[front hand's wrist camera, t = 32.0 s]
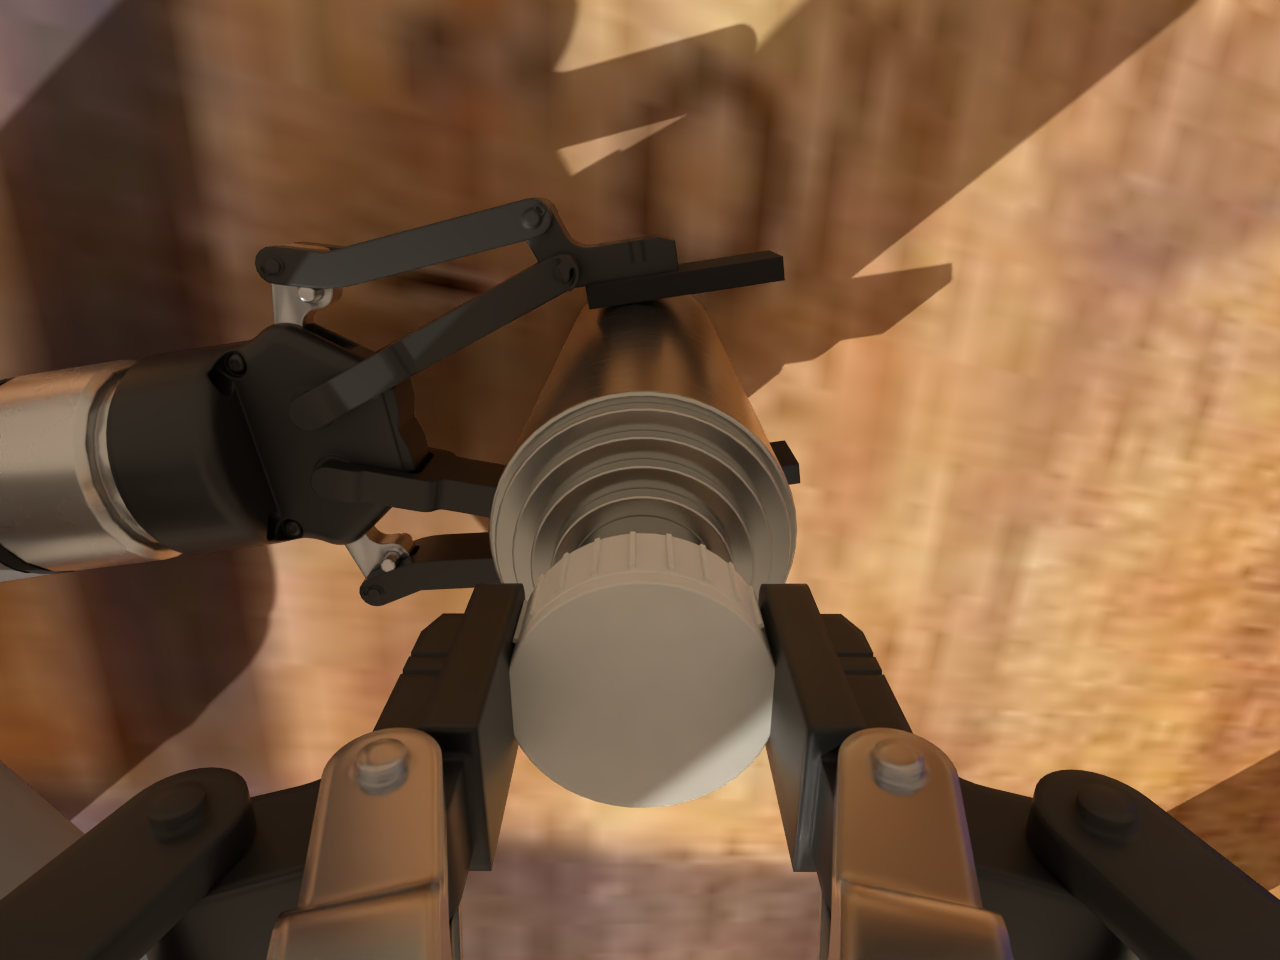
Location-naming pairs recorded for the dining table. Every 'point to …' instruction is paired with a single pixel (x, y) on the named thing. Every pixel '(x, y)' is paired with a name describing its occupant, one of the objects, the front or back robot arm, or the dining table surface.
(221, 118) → the dining table surface
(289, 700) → the dining table surface
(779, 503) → the bottle
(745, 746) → the cap
